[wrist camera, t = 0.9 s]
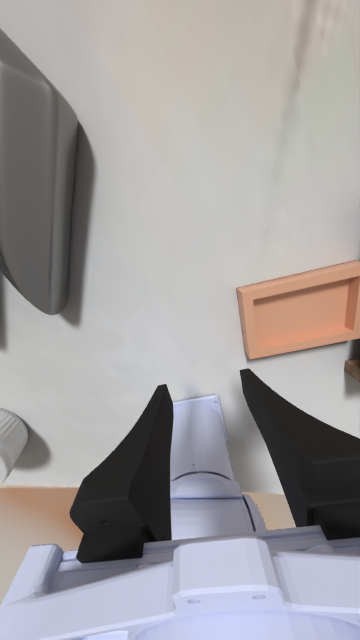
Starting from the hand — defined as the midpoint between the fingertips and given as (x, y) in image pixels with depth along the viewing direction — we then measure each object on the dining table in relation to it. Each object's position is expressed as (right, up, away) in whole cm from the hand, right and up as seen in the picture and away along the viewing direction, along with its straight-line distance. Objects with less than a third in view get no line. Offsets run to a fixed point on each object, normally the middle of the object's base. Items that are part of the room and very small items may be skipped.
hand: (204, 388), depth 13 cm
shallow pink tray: (+11, +6, +8) cm, 15 cm away
